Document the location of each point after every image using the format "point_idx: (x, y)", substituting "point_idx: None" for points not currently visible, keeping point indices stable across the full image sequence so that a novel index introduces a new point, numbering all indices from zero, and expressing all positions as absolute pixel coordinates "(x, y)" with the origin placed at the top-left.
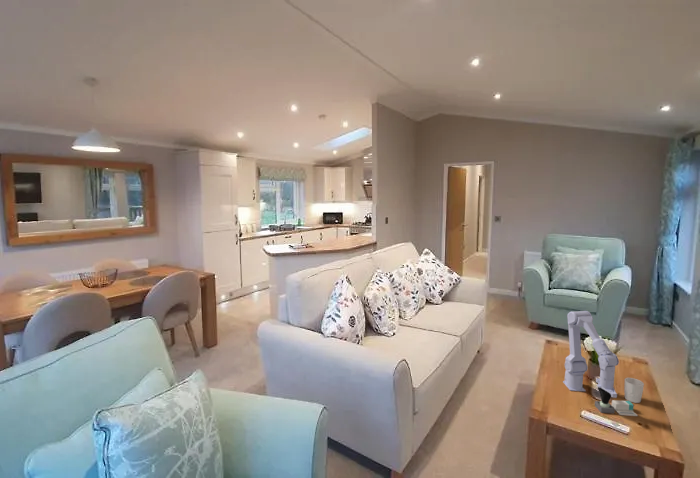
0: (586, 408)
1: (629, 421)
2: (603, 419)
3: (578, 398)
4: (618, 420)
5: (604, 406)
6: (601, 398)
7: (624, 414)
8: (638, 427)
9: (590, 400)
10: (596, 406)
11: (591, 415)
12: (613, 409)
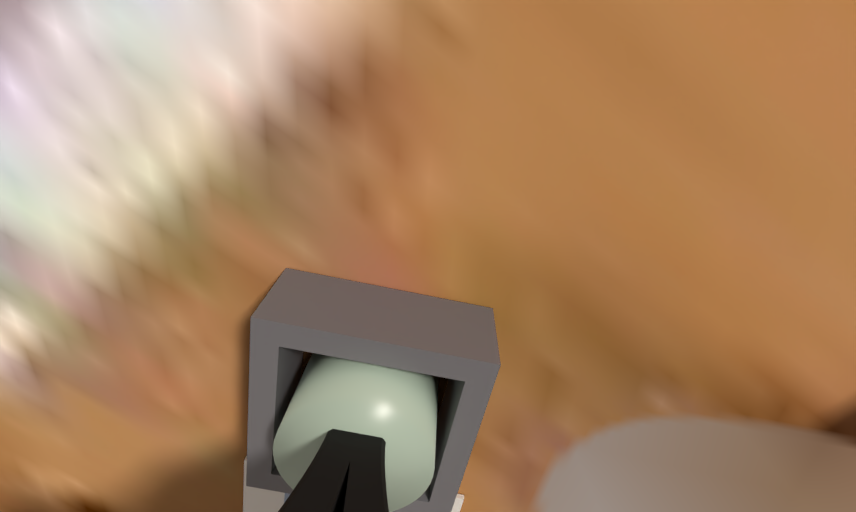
0: (423, 96)
1: (117, 459)
2: (81, 169)
3: (776, 184)
4: (109, 363)
5: (295, 394)
6: (366, 504)
7: (253, 502)
8: (9, 464)
9: (642, 344)
10: (435, 307)
11: (175, 21)
12: (252, 461)
